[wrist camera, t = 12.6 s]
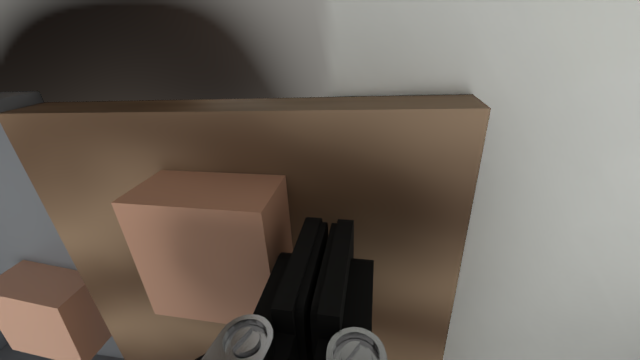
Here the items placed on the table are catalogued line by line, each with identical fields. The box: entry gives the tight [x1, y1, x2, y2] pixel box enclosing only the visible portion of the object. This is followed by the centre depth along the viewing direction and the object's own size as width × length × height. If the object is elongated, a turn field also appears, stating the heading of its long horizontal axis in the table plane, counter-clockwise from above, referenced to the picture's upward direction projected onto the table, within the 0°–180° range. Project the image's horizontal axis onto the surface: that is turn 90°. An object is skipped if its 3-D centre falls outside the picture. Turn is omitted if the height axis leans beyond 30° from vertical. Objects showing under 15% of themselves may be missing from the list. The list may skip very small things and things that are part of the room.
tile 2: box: [0, 260, 112, 360], centre depth 19 cm, size 5×5×2 cm
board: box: [0, 94, 491, 360], centre depth 15 cm, size 18×18×2 cm
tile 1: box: [111, 170, 293, 324], centre depth 11 cm, size 5×5×2 cm
